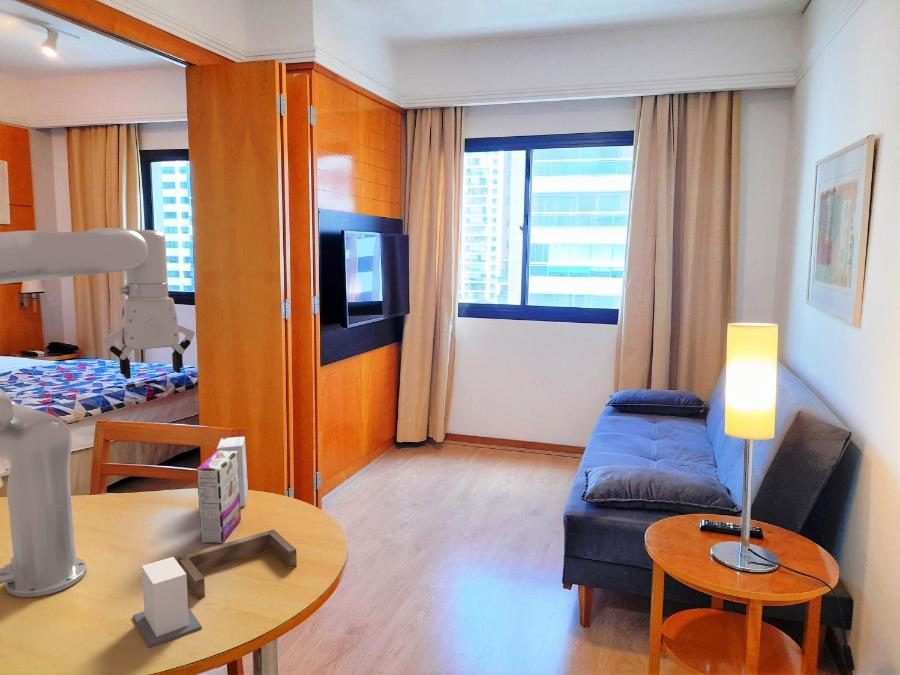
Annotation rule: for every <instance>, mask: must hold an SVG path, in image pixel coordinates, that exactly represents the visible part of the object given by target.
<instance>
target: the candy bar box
mask: <svg viewBox="0 0 900 675" xmlns="http://www.w3.org/2000/svg"><path fill="white" fill-rule="evenodd" d="M196 476H197V477H196V478H197V479H196V480H197V496H198V507H199V510H198V511H199V522H200V523H199V526H200V527H199V528H200V541H201V543H203V544H224V543H225V541H226V540H227V539H228V537H229V536H230V535H231V533H233V531H234V529H236V527H237V526H238V525H239V524H240V522H241V520H242V516H241V507H240V491H239V472H238V451H223V450H219V451H217V450H216V451H215V452H214V453H213V454H212V455H210V457H209V458H207V459H206V460H205V461H204V462H203V463H202V464H201V465H199V466H198V467H197V468H196Z"/></svg>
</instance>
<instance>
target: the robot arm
mask: <svg viewBox="0 0 900 675" xmlns="http://www.w3.org/2000/svg"><path fill="white" fill-rule="evenodd" d="M166 242H167V241H166V236H165V234H164V233H163V232H162V231H160V230H156V229H155V230H153V229H129V228H120V227H119V228H118V227H116V228H113V227H111V228H109V227H108V228H107V227H106V228H105V227H103V228H102V227H98V228H91V229H88V230H86V231H78V232H77V231H74V232H73V231H67V232H66V231H65V232H64V231H49V230H48V231H47V230H16V231H15V230H14V231H4V232H3V231H2V232H0V285H5V284H13V283H15V284H16V283H23V282H31V281H32V282H33V281H41V280H42V281H44V280H45V281H46V280H47V281H48V280H55V279H62V278H71V277H80V276H89V275H90V276H92V275H102V274H108V273H109V274H111V273H118V272H124V271H125V279H126V283H125V285H124V286H118V293H119V294H121V295H125V296H126V297H127V298H124V299H123V304H122V311H121V327H120V328H118V329H117V330H115V331H113V332H111V333H109V334H107V335H106V336H104V337H103V338H102V342H104V343H103V344H104V345H105V346H106V347H107V349H108V350H109V351H110V352H111V353H112V354H114V355H115V356H116V357H117V358H119V359H118V360H119V361H118V362H119V372H120V374H121V375H123V377H124V379H126V380H130V379H131V378H132V376H131V374H132V373H131V361H130V359H129V357H128V356H129V355H130V354H131V353H132V351H133V350H135V351H136V350H138V351H139V350H151V349H159V348H160V349H161V348H170V347H171V348H172V349H173V352H172V353H171V356H172V358H171V359H172V360H171V361H172V370H173V371H174V372H175V373H177V374H181V372H182V371H181V370H182V368H184V364H183V354H184V353H185V351H186V350H187V349H188V347H189V346H190V345H191V343H192V341H193V338H194V336H195V331H194V330H191V329H188V328H186V327H183V326H181V325H179V323H178V322H179V321H178V316H177V310H176V304H175V301H174V298H172V297H169V285H168V284H169V283H168V282H169V281H168V267H167V265H168V264H167V246H166V245H167V244H166ZM180 333H181V334H183V335H184V338H183V340H182V341H181V342H180ZM119 338H121V342H122V347H120V349H119V348H118V347H116V345H115V344H114V342H115V341H116V340H118V339H119ZM72 445H73V440H72V433H71V431H70V429H69V427H68V425H67V424H66V423H65V422H64V421H63V420H62V419H60V418H59V417H57V416H55V415H53V414H51V413H48V412H46V411H45V412H44V411H41V410H38V409H35V408H34V409H33V408H32V407H31V408H30V407H27V406H24V405H22V404H19V403H17V402H16V401H13V400H12V399H11V397H10V396H9V395H8V393H6V392H5V391H4V390H3V389H2V388H0V458H3V459H5V460H7V461H9V465H10V469H9V473H8V479H7V484H6V496H7V498H6V499H7V506H8V513H9V523H10V524H9V525H10V534H11V535H10V536H11V543H12V555H13V557H11V558H10V563H9V564H5V565H4V567H0V585H1V584H4V583H5V590H6V592H7V593H8V594H10V595H12V596H14V597H20V598H35V597H42V596H46V595H50V594H55V593H58V592H59V591H62V590H65V589H67V588H69V587H71V586H74V585H75V584H77V583H78V582H79V581H81V579H82V578H83V577H84V576H85V575H86V573H87V564H86V562H85V560H83V559H81V558H79V557H77V556H76V554H77V553H76V544H75V532H74V519H73V506H72V495H71V484H70V483H71V482H70V481H71V480H70V479H71V478H70V461H71V455H72V449H73V448H72V447H73V446H72Z"/></svg>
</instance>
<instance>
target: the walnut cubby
mask: <svg viewBox="0 0 900 675" xmlns="http://www.w3.org/2000/svg"><path fill="white" fill-rule="evenodd" d="M268 550H269V551H270V550H271V551H270V552H271V553H273V554H274V556H276V557H277V558H278V559H279V560H280V561H281V562H282V563H283V564H284V565H285V566H286V567H287V566H288V567H289V568H290V569H292V568H295V567H294V566H296V567H297V563H298V562H297V556H298V555H297V548H295V547H294V546H293V545H292V544H291V543H290V542H288V541H287V540H286V538H284V537H283V536H282V535H281V534H279V533H278V531H276V530H275V529H270V530H266V531H263V532H261V533H256V534H253V535H249V536H245V537H243V538H238V539H235V540H232V541H228V542H226V543H225V542H224V543H220V544H218V545H214V546H211V547H207V548H204V549H203V548H202V549H200V550H197V551H193V552H190V553H187V554H184V555H183V554H182V555H179V556H177V558H176V559H177V560H176V561H177V562H178V564H179V565H180V566H181V568H182V569H183V570H184V571H185V573H186V576H187V590H189V591H190V593H191V594H192V596H193V597H194V598H195V600H199V599H202V598H206V591H205V590H206V588H205V587H206V586H205V578H204V576H203V575H202V574H201V572H204V571H206V570H210V569H209V568H211V569H214V568H217V567H220V566H224V565H226V563H227V564H231V563H234V562H237V561H240V560H243V559H246V558H250V557H252V556H256V555H259V553H260V554H262V552H263V553H265V551H266V552H269V551H268ZM223 564H224V565H223ZM213 567H214V568H213ZM288 567H287V568H288ZM289 568H288V569H289ZM203 570H204V571H203Z"/></svg>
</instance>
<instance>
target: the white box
mask: <svg viewBox="0 0 900 675" xmlns="http://www.w3.org/2000/svg"><path fill="white" fill-rule="evenodd" d="M141 577H142V593H143V595H142V597H143V607H144V608H143V609H144V611H143V612H144V613H145V617H146V619H147V621H148V623H149V624H150V626H151V628H152V630H153V632H154V633H155V635H156V637H157V636H160V635H163V634H166V633H168V632H171V631H174V630H177V629H180V628H182V627H185V626H188V625H189V615H188V607H189V601H188V600H189V598H188V596H189V595H188V587H187V576H186V573H185V571H184V570H183V569H182V568H181V566H180V565H179V564H178V560H176V558H175V557H174V556H171V557H168V558H163V559H160V560H157V561H154V562H149V563H146V564H143V565H141Z"/></svg>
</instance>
